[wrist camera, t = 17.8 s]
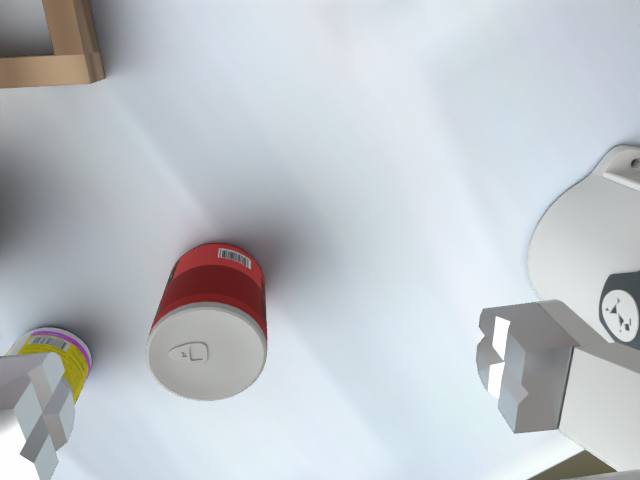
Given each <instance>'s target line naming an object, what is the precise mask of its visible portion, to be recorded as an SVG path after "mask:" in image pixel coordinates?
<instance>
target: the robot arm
mask: <svg viewBox="0 0 640 480" xmlns="http://www.w3.org/2000/svg"><path fill="white" fill-rule="evenodd" d="M634 159H635V162H634V163H633V165H631V162H632V161H633V160H634ZM527 267H528V275H529V279H530V282H531V285H532V287H533V289H534V291H535V292H536V294H537V295H538V296H539V298H540V299H541V300H542V301H538V302H531V303H525V304H517V305H509V306H501V307H493V308H485V309H483V310H482V313H481V315H480V321H479V328H480V329H481V331H482V332H483V333H484V335H485V337H484V338H483V339H482V340H481V342H480V343H479V344H478V345H477V355H476V362H477V368H478V374H479V376H480V379H481V382H482V384H483V385H484V387H485V389H486V390H487V392H488V393H490V394H492V395H494V396H495V397H497V398H499V402H498V409H499V411H500V412H501V414H502V416H503V417H504V419H505V420H506V422H507V423H508V425H509V426H510V428H511V429H512V431H513V433H514V434H515V433H525V432H535V431H546V430H556V429H559V432H560V433H562V434H563V435H565V436H566V437H568V438H569V439H571V440H572V441H574V442H575V443H577V444H578V445H580V446H581V447H583V448H584V449H586V450H587V451H589V452H590V453H592V454H593V455H594V456H596V457H597V458H599V459H601V460H602V461H604V462H605V463H606V464H608V465H609V466H611V467H613V468H614V469H615V470H617V471H618V472H614V473H607V474H600V475H593V476H585V477H579V478H571V479H563V480H640V147H634V146H626V145H619V146H616V147H614V148H613V149H611V150H610V151H609V152H608V153H607V154H606V155H605V156H604V157H603V158H602V160H601V161H600V162H599V164H598V165H597V166H596V167H595V169H594V170H593V171H592V173H591V174H590V175H589V176H587V177H586V178H585V179H584V180H582V181H581V182H579V183H578V184H576V185H575V186H573V187H572V188H571V189H569V190H568V191H567V192H565V193H564V194H563V195H562V196H561V197H559V198H558V199H557V200H556V201H555V202H554V203H553V205H552V206H551V207H550V208H549V209H548V210H547V212H546V213H545V214H544V216H543V217H542V219H541V220H540V222H539V224H538V226H537V227H536V230H535V232H534V234H533V237H532V239H531V242H530V246H529V251H528V258H527ZM64 372H65V369H64V366H63V363H62V361H61V358H60V356H59V355H58V354H56V353H55V352H45V353H33V354H21V355H9V356H0V480H50V479H51V477H52V475H53V473H54V470H55V468H56V466H57V464H58V458H57V455H56V451H57V450H58V449H59V448H61V447H62V446H63V445H64V444H66V443H67V442H68V439H69V437H70V435H71V432H72V430H73V424H74V417H75V408H74V400H73V396H72V392H71V390H70V389H69V388H67V387H66V386H65V385H63V384H62V383H61V382H60V379H61V377H62V375H63V374H64Z"/></svg>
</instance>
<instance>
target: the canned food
mask: <svg viewBox="0 0 640 480" xmlns="http://www.w3.org/2000/svg"><path fill="white" fill-rule="evenodd" d="M266 356H267V322H266V300H265V282H264V276H263V273H262V270H261V268H260V267H259V265H258V264H257V262H256V261H255V260H254V259H253V258H252V257H251V256H250V255H249V254H248V253H247V252H245V251H244V250H242V249H240V248H238V247H236V246H233V245H229V244H225V243H210V244H205V245H201V246H198V247H196V248H194V249H192V250H190V251H189V252H187V253H186V254H185V255H183V256H182V257H181V258H180V259H179V260H178V261H177V263H176V264H175V265H174V267H173V269H172V271H171V274H170V277H169V279H168V282H167V285H166V288H165V291H164V293H163V296H162V299H161V302H160V305H159V307H158V310H157V313H156V316H155V319H154V321H153V324H152V327H151V331H150V334H149V337H148V341H147V348H146V361H147V365H148V368H149V370H150V372H151V374H152V376H153V377H154V378H155V379H156V381H157V382H158V383H159V384H160V385H161V386H163V387H164V388H165V389H167V390H168V391H170V392H172V393H174V394H175V395H177V396H180V397H184V398H187V399H191V400H197V401H214V400H221V399H225V398H228V397H232V396H234V395H236V394H238V393H240V392H242V391H244V390H245V389H247V388H248V387H249V386H251V385H252V384H253V383H254V382H255V381H256V380H257V378H258V377H259V375H260V374H261V372H262V371H263V368H264V365H265V362H266Z"/></svg>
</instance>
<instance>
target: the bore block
mask: <svg viewBox="0 0 640 480" xmlns="http://www.w3.org/2000/svg"><path fill="white" fill-rule="evenodd" d="M42 3H43V7H44V11H45V16H46V20H47V24H48V28H49V33H50V37H51V41H52V45H53V50H54V54H46V55H25V56H4V57H0V88H18V87H37V86H55V85H74V84H91V83H94V82H97V81H100V80H102V79H105V76H104V71H103V66H102V61H101V56H100V51H99V46H98V41H97V36H96V31H95V26H94V21H93V16H92V11H91V6H90V1H89V0H42Z"/></svg>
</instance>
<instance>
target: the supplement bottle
mask: <svg viewBox="0 0 640 480" xmlns="http://www.w3.org/2000/svg"><path fill="white" fill-rule="evenodd" d="M45 352H55V353H56V354H58V355H59V356H60V358H61V361H62V363H63V366H64V369H65V372H64V374H63V375H62V377H61V379H60V382H61V383H62V384H63V385H65V386H66V387H67V388H69V389H70V390H71V392H72V396H73V400H74V405H75V403H76V401H77V399H78V397H79V395H80V392H81V390H82V388H83V386H84V384H85V382H86V380H87V378H88V375H89V373H90V370H91V365H92V359H91V354H90V351H89V349H88V347H87V346H86V345H85V343H84V342H83V341H82V340H81V339H79V338H78V337H77V336H75V335H74V334H72V333H70V332H68V331H66V330H62V329H58V328H49V327H48V328H39V329H35V330H32V331H29V332H27V333H25V334H24V335H22V336H21V337H20V338H19V339H18V340H17V341H16V342H15V343H14V344H13V346H12V347H11V348H10V350H9V351H8V352H7V353H6V355H5V356H9V355H21V354H33V353H45Z"/></svg>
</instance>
